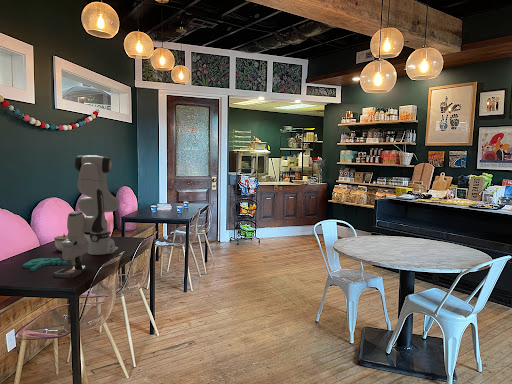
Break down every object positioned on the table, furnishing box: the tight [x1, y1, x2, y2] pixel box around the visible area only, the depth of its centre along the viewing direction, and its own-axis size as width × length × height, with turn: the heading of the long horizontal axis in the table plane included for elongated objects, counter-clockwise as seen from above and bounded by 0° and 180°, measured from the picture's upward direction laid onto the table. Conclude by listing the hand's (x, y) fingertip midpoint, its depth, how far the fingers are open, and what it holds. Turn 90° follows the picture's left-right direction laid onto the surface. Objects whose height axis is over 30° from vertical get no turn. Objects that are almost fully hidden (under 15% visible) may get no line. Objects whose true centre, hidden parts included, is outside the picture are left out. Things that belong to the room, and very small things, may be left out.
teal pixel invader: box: [22, 257, 69, 272], centre depth 229 cm, size 20×2×20 cm
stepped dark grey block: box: [71, 257, 87, 272], centre depth 218 cm, size 4×7×8 cm, turn 82°
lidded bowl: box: [53, 233, 68, 252], centre depth 267 cm, size 13×13×11 cm
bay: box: [52, 268, 83, 279], centre depth 209 cm, size 9×11×2 cm
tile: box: [64, 268, 78, 274], centre depth 214 cm, size 6×6×1 cm
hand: (76, 263), depth 217 cm, fingers closed on stepped dark grey block, 3 cm apart
